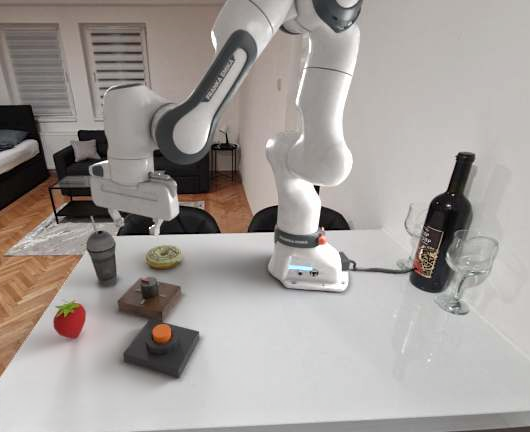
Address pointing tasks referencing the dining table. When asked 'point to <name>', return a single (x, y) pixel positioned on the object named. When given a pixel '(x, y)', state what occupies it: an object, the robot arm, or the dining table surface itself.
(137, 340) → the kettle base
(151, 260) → the decorated donut
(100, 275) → the beverage cup
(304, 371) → the dining table surface
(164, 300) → the panel
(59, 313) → the strawberry
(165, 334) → the orange button cap
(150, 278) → the temp dial
